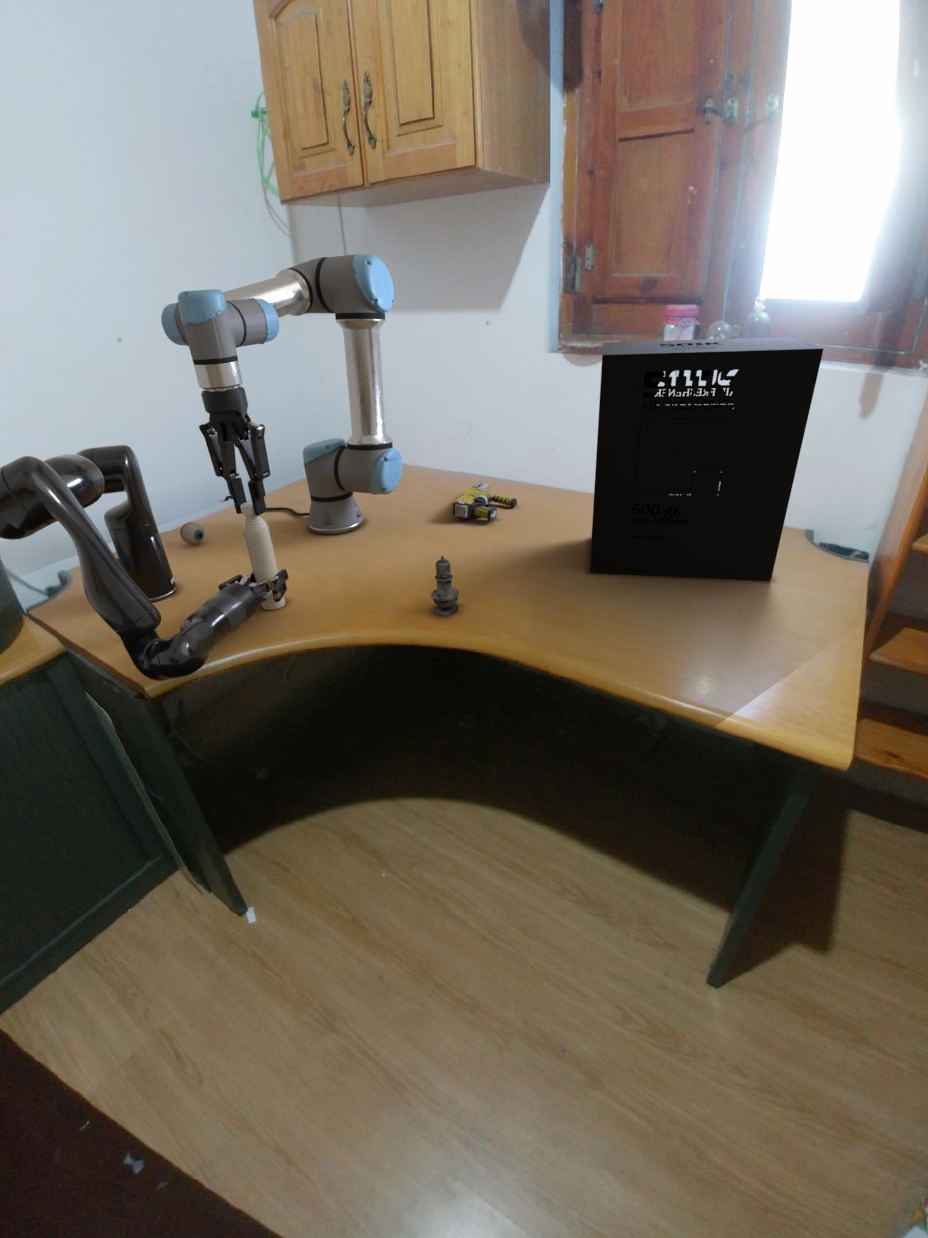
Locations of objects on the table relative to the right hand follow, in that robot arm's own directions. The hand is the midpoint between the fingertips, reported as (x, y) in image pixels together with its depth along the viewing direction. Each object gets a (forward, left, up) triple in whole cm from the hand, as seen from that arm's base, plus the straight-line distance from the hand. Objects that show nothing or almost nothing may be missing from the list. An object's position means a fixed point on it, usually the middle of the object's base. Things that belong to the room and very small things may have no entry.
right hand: (251, 512), depth 119 cm
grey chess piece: (+27, +27, -21) cm, 43 cm away
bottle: (0, 0, -21) cm, 21 cm away
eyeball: (-48, -3, -21) cm, 52 cm away
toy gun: (-14, +71, -21) cm, 75 cm away
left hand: (-2, +2, -15) cm, 15 cm away
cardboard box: (+42, +81, -21) cm, 93 cm away
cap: (0, 0, +1) cm, 1 cm away
